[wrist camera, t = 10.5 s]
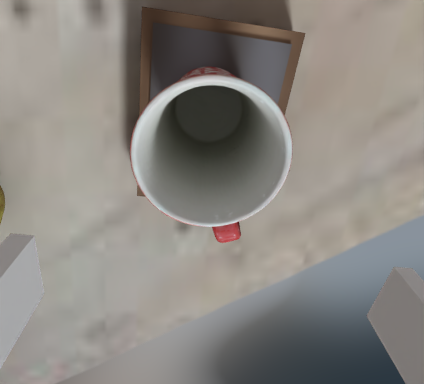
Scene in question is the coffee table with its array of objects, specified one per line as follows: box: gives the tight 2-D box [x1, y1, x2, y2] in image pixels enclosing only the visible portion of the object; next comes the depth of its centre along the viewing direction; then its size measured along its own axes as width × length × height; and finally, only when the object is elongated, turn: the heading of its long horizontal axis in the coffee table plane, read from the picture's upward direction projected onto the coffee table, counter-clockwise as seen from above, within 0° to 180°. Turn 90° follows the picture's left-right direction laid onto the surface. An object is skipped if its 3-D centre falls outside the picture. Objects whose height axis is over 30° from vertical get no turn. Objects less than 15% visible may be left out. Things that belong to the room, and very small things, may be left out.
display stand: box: [137, 7, 305, 196], centre depth 31 cm, size 14×18×4 cm
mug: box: [130, 66, 293, 243], centre depth 23 cm, size 13×9×14 cm
